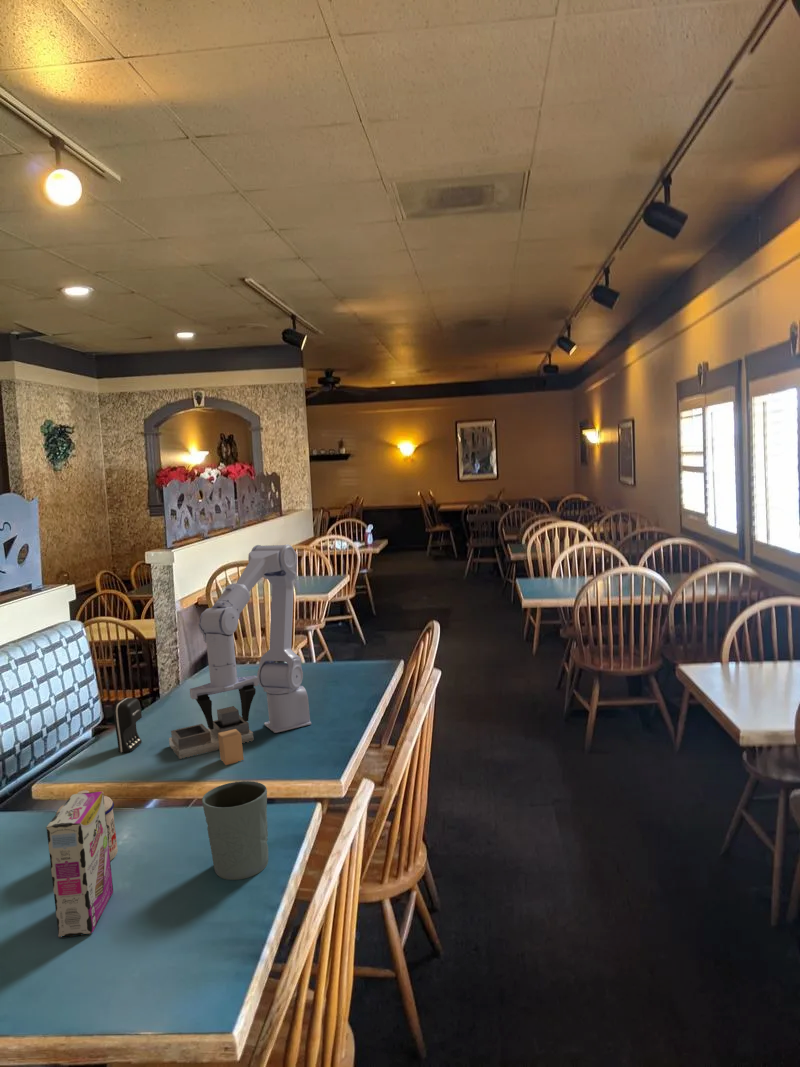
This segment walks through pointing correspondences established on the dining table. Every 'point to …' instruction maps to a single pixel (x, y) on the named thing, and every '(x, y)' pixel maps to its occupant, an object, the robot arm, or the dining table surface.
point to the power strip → (208, 734)
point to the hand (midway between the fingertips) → (228, 724)
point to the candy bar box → (80, 863)
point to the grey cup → (237, 828)
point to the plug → (230, 746)
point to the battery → (127, 724)
